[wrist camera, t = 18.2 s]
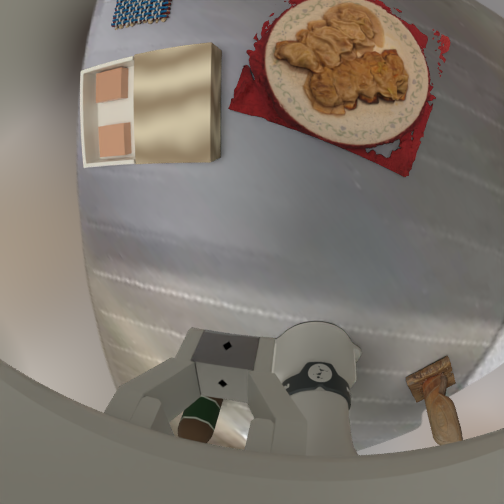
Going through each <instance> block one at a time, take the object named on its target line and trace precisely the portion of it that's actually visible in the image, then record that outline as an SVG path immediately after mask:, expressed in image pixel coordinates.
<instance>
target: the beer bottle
mask: <svg viewBox="0 0 504 504" xmlns="http://www.w3.org/2000/svg"><path fill="white" fill-rule="evenodd" d="M200 396H201V397H199V398H198V399H197V400H196V401H195V402H194V403H192V404H191V405H190V406H189V407H187V408H186V409H185V410H184V412H183V415H182V418H181V420H180V423H179V426H178V436H179V437H180V438H184V439H188V440H193V441H197V442H202V443H207V442H208V441H209V440H210V438H211V437H212V435H213V432H214V429H215V426H216V422H217V419H218V415H219V412H220V408H221V405H222V401H223V399H222V398H215V397H208V396H202V395H200Z"/></svg>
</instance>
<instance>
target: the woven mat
mask: <svg viewBox="0 0 504 504" xmlns="http://www.w3.org/2000/svg"><path fill="white" fill-rule="evenodd" d="M170 1H171V0H117V4H116V7H117V8H115V11H116V12H114V14H115V15H114V16H113V19H114V20H113V23H112V24H111V26H112V27H115V30H117V29H118V26H119V29H121V28H123V26H124V25H125V26H126V28H127V27H129V24H130V23H131V24H130V26H131V27H132V26H133V25H135V23H136V22H137V24H141V22H142V21H144V22H143V23H147V21H148V24H151V23H153V20H155V19H156V23H158V21H159V19H161V18H162V19H161V21H162V22H164V21H165V20H166V19H167V18H168V15H167V14H170V12H168V10H170V7H169V5H171V3H170ZM128 8H129V9H128ZM123 9H124V10H123ZM161 10H162V11H161ZM144 13H145V14H144ZM160 14H164V15H160ZM156 15H157V16H156ZM148 16H149V17H148ZM121 17H122V18H121ZM125 20H126V21H125Z"/></svg>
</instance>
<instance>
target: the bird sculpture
mask: <svg viewBox="0 0 504 504" xmlns="http://www.w3.org/2000/svg"><path fill="white" fill-rule="evenodd" d="M447 368H448V369H447ZM451 371H452V367H451V363H450V361H449V358H448V356H447V357H445V358H444V359H443V358H442V359H441V360H439V361H437V362H435V364H434V363H433V364H432V365H430V366H427V368H423V370H422V371H421V370H419V371H418V372H416V373H415V374H412V375H410V376H408V377H406V382H407V385H408V387H409V389H410V390H411V392H412V395H413V396H414V398H415V400H416V403H417V402H419V401H421V400H423V399H425V404H426V409H427V413H428V417H429V422H430V426H431V430H432V434H433V438H434V440H435V441H436V443H437V444H439V445H445V444H449V443H454V442H458V441H462V440H463V438H462V431H461V427H460V423H459V420H458V416H457V412H456V409H455V406H454V403H453V401H452V400H451V399H450V398H449V397H447V396H445V394H446V388H448V387H450V386H451V385H453V384H455V383H456V382H455V380H454V379H455V378H454V375H453V373H452V374H451ZM445 372H446V373H445ZM442 373H443V374H442ZM436 374H437V375H436ZM446 374H447V375H446ZM448 374H449V375H448ZM450 374H451V375H452V376H451V375H450ZM434 375H435V376H434ZM446 376H447V377H446ZM450 376H451V377H450ZM426 379H427V380H426ZM421 383H422V384H421ZM419 390H420V391H419ZM422 390H423V391H422ZM422 392H423V393H422Z"/></svg>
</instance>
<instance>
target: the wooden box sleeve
mask: <svg viewBox="0 0 504 504" xmlns="http://www.w3.org/2000/svg"><path fill="white" fill-rule="evenodd" d="M221 57H222V51H221V50H220V49H219V48H218V47H217V46H215V45H214V44H213V43H212V42H211V43H201V44H193V45H185V46H178V47H172V48H166V49H160V50H155V51H150V52H145V53H141V54H136V55H134V92H133V103H134V141H135V159H136V164H151V163H191V162H212V161H214V160H216V159H218V158H220V157H221Z"/></svg>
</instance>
